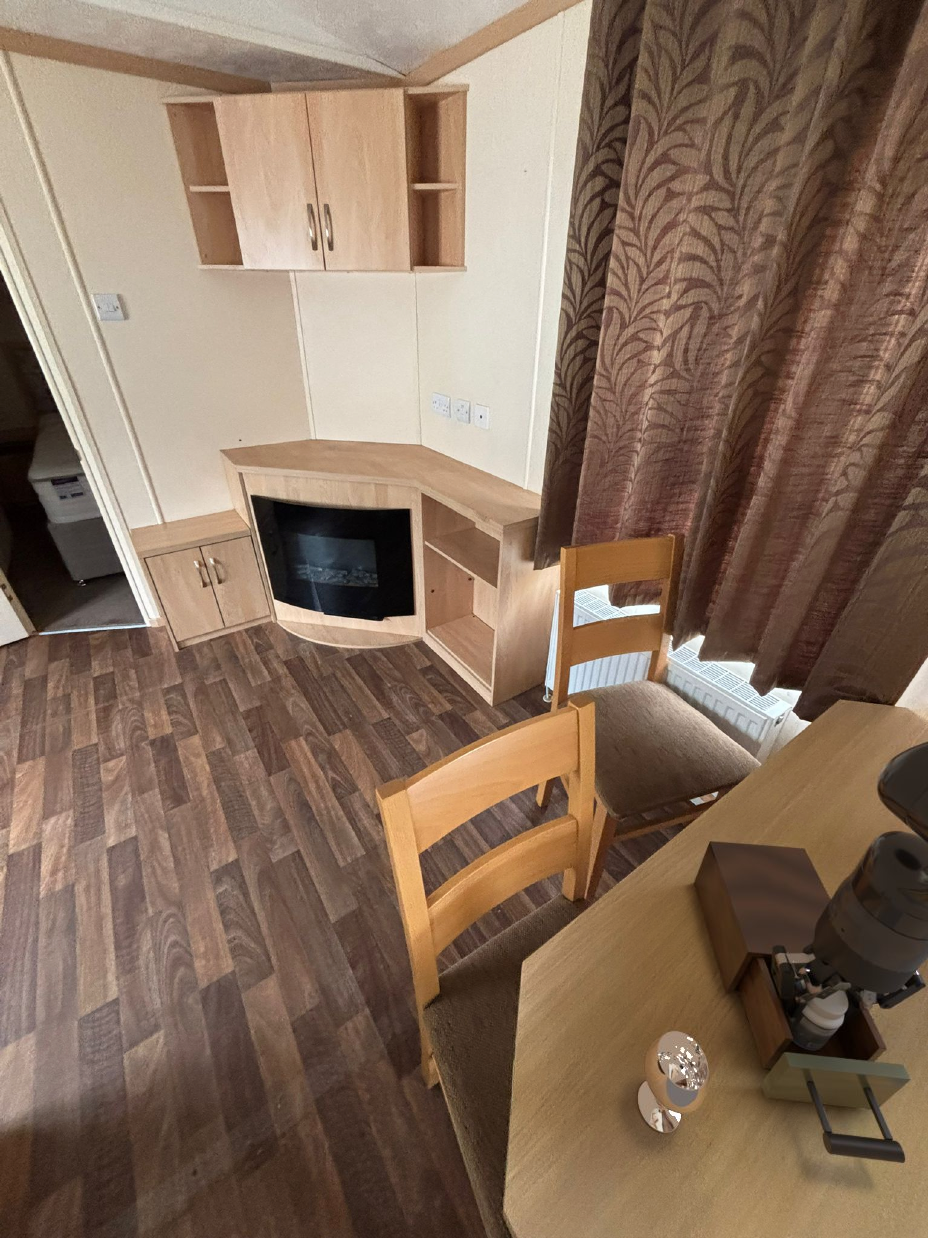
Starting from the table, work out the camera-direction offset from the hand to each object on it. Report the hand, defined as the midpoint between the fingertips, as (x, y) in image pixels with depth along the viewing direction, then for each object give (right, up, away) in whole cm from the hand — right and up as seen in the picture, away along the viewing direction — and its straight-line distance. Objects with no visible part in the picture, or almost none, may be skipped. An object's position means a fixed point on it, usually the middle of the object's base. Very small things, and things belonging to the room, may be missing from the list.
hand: (814, 1010), depth 58 cm
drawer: (0, -6, +2) cm, 7 cm away
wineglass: (-18, -10, -1) cm, 20 cm away
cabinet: (+1, 0, +13) cm, 14 cm away
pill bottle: (0, -4, +2) cm, 5 cm away
